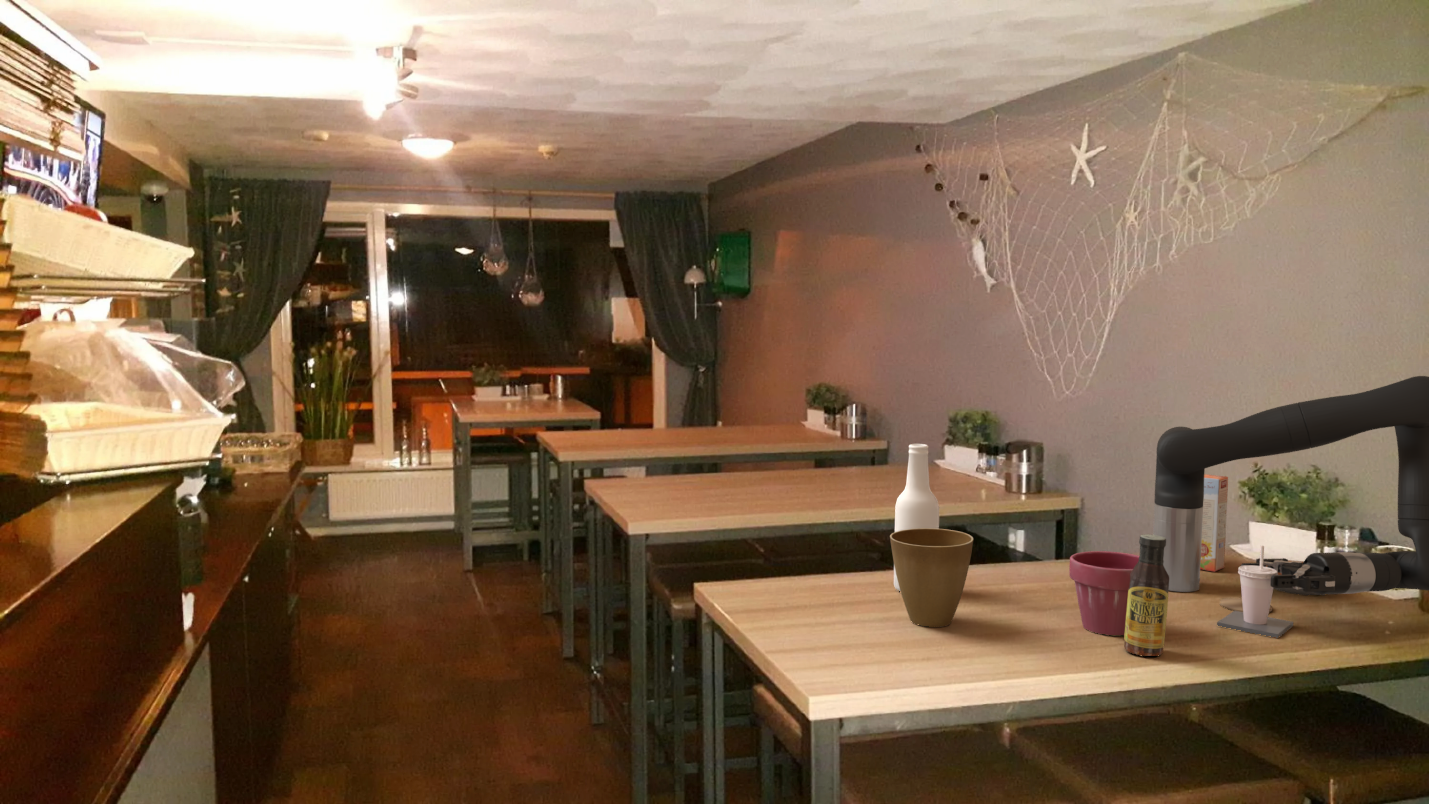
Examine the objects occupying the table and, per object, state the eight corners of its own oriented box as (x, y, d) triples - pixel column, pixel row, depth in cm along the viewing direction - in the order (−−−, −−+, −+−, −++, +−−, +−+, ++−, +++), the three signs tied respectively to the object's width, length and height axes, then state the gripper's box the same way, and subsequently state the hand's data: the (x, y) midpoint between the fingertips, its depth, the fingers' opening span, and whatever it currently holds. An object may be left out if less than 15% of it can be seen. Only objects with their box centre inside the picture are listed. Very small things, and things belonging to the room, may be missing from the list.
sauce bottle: (1123, 655, 170) (1128, 538, 169) (1123, 644, 176) (1128, 530, 174) (1166, 661, 168) (1171, 542, 166) (1165, 649, 174) (1170, 534, 172)
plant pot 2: (1050, 622, 189) (1052, 553, 188) (1108, 613, 194) (1111, 547, 193) (1108, 645, 176) (1111, 572, 175) (1169, 635, 181) (1172, 564, 180)
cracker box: (1225, 568, 229) (1229, 475, 227) (1215, 573, 225) (1219, 478, 223) (1161, 557, 239) (1165, 468, 237) (1151, 561, 235) (1155, 471, 233)
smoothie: (1280, 627, 183) (1284, 550, 182) (1241, 625, 185) (1245, 548, 183) (1268, 617, 190) (1272, 542, 188) (1231, 615, 191) (1234, 541, 190)
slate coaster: (1217, 626, 187) (1217, 622, 187) (1234, 614, 194) (1234, 610, 194) (1277, 638, 180) (1277, 634, 180) (1293, 625, 187) (1293, 621, 187)
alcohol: (904, 597, 204) (907, 448, 202) (886, 585, 213) (889, 442, 210) (944, 594, 207) (948, 447, 204) (925, 583, 215) (929, 441, 212)
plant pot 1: (918, 605, 199) (920, 524, 198) (986, 622, 189) (989, 536, 187) (872, 621, 189) (873, 535, 187) (941, 639, 178) (943, 549, 177)
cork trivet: (1211, 605, 200) (1211, 602, 200) (1233, 597, 205) (1233, 594, 205) (1258, 616, 193) (1258, 613, 193) (1280, 608, 198) (1280, 605, 198)
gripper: (1312, 544, 195) (1233, 546, 193) (1369, 562, 180) (1283, 564, 179) (1310, 582, 195) (1231, 585, 193) (1366, 604, 181) (1281, 606, 179)
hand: (1256, 575), depth 186 cm, fingers open, 8 cm apart
